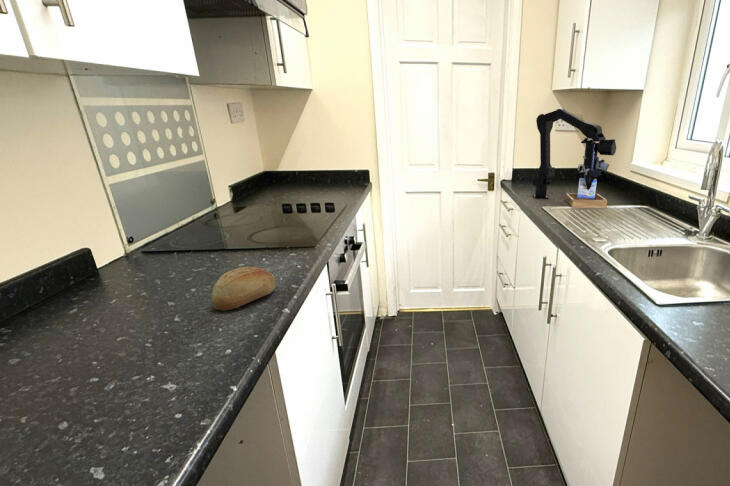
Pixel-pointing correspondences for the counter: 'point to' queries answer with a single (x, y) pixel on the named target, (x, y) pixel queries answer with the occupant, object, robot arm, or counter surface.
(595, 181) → the medicine box
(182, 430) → the counter surface
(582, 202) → the wooden tray
